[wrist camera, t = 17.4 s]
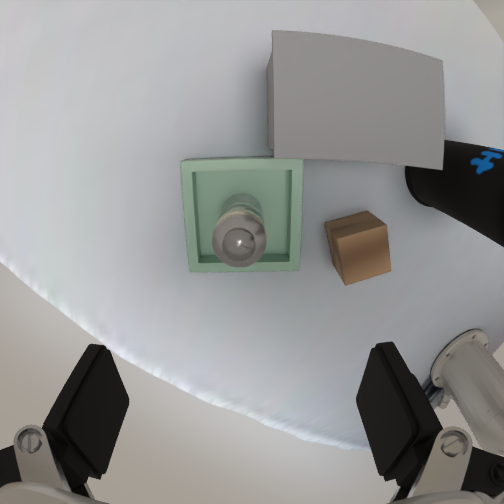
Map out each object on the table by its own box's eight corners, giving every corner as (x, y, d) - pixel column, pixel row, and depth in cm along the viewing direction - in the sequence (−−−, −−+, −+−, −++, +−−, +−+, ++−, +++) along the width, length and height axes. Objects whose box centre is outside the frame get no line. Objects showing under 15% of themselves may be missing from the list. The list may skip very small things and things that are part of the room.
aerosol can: (454, 208, 30) (576, 282, 12) (400, 204, 30) (532, 291, 11) (461, 142, 27) (598, 179, 8) (407, 130, 27) (561, 155, 8)
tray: (295, 260, 32) (299, 270, 30) (193, 262, 32) (189, 272, 30) (298, 156, 28) (303, 159, 26) (185, 159, 28) (180, 161, 26)
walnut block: (373, 251, 32) (391, 271, 28) (332, 263, 33) (345, 285, 28) (367, 210, 30) (386, 224, 26) (324, 222, 31) (337, 238, 26)
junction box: (399, 156, 28) (459, 172, 18) (264, 149, 28) (274, 158, 18) (399, 79, 25) (459, 65, 15) (263, 64, 24) (272, 29, 15)
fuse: (263, 233, 30) (267, 271, 22) (221, 233, 30) (211, 272, 22) (263, 192, 29) (268, 218, 21) (220, 193, 29) (208, 218, 21)
